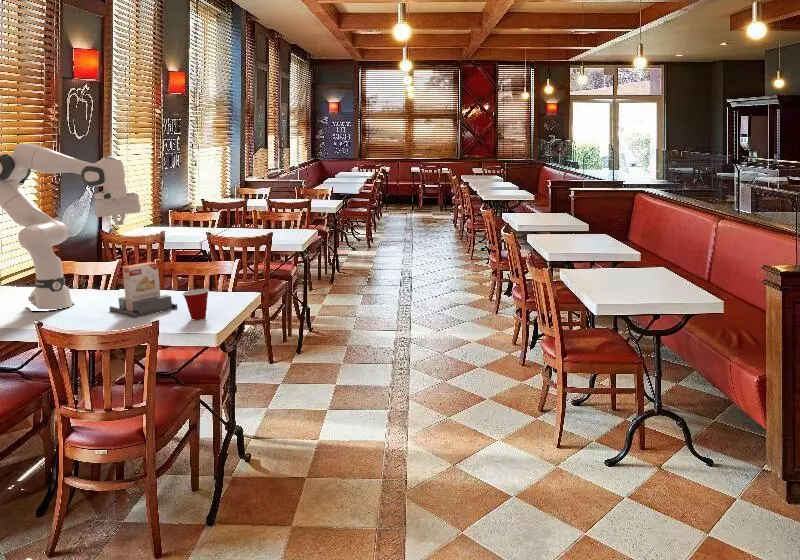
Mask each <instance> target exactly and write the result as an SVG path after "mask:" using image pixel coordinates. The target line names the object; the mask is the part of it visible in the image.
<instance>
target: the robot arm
mask: <svg viewBox="0 0 800 560" xmlns="http://www.w3.org/2000/svg"><path fill="white" fill-rule="evenodd" d="M32 170H33V171H35V172H39V173H42V174H43V173H44V174H51V175H52V174H62V173H63V174H64V173H68V174H69V173H72V174H73V173H74V174H77V175H80V178H81V181H82V182H83V183H84V185H86V186H87V187H92V188H97V187H103V186H104V190H102V191H99V192H97V193H95V194H94V195H93V197H94V199H95V200H94V203H93V204H94V205H93V211H94V216H96V217H97V218H101V217H102V218H103V217H111V218H112V219H113V221H114V223H115V226H124V221H125V218H126V215H129V214H137V213H140V212H141V209H142V208H141V204H140V201H139V200H140V199H139V198H140V197H139V194H138V193H136V192H135V191H131V192H127V185H126V181H125V179H126V172H125V167H124V164H123V161H122V159H121V158H119V157H117V156H110V155H108V156H103V157H102V158H101V159H100V160H98V161H96V162H95V163H93V162H90V161H85V160H83V159H78V158H74V157H71V156H68V155H67V154H66V155H65V154H63V153H61V152H59V151H55V150H53V149H51V148H47V147H44V146H41V145H37V144H32V143H25V142H24V143H19V144H17V145H16V146H15V147H14V150H13V151H12V154H8V153H4V154H1V155H0V207H1V208H2V209H3V210H4V211H5V213H6V214H7V215H8V216H9V217H10V218H11V219H12V220H13V222H15V224H18V225H20V226H23V227H24V228H23V229H21V230H20V231H19V233H18V239H17V240H18V243H19V244H20V246H21V247H22V248H24V249H25V250H26V251H27V252H28V253H29V255H30V257H31V260H32V261H33V266H34V272H35V279H34V280H35V281H34V289H33V291H32V292H31V293H30V295H29V296H28V299H27V300H28V302H30V303H31V304H33V305H34V306H36V307H37V308H38V309H60V308H66V309H68V308H67V307H69V308H71V307H72V306H73V305H72V304H74V303H75V301H72V298H71V292H70V288H69V287H68V286H67V285H66V278H65V276H64V270H63V263H62V260H61V258H60V257H59V256H57V254H55V252H54V249H53V247H54V246H57V245H60V244H62V243H64V242H65V241H67V239H68V237H69V234H70V233H69V232H70V231H69V228H68V227H67V224H65V223H64V222H61V221H59V220H57V219H54V218H53V217H51V216H50V215H48V214H47V213H45V212H44V211H42V209H40V208H39V207H37V205H36V204H35V203H34V202H33V201H32V200H31V199H30V198H29V197H28V196H27V195H26V194H25V192H24V191H23V190H22V189H21V188H20V187H21V186H22V185H24V183H25V181H26V180H28V178H29V177H30V175H31V173H32ZM118 216H119V217H120V219H119V220H118ZM74 305H75V304H74ZM70 306H71V307H70Z"/></svg>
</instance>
